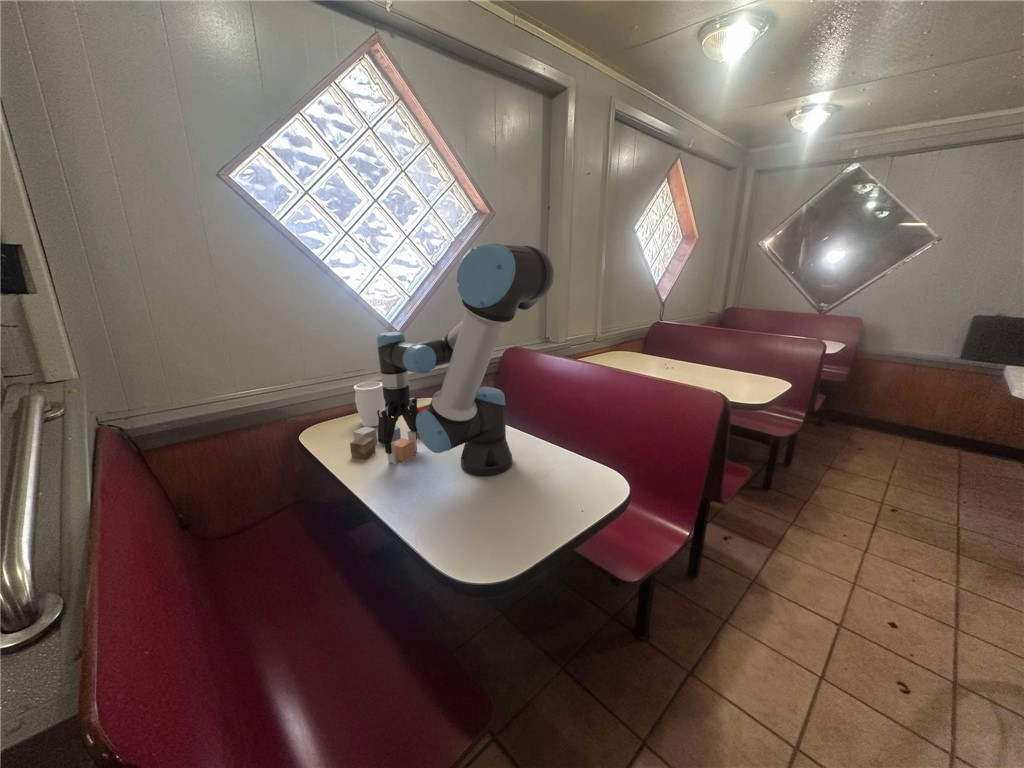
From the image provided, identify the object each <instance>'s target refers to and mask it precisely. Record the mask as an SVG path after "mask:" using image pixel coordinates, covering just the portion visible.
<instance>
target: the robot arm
mask: <svg viewBox="0 0 1024 768" xmlns="http://www.w3.org/2000/svg"><path fill="white" fill-rule="evenodd" d="M554 279H555V270H554V266H553V264H552V261H551V259H550V258H549V256H548V255H547V253H546V252H545V251H543V250H541V249H540V248H538V247H536V246H531V245H514V244H513V245H511V244H501V243H488V244H480V245H476V246H475V247H473V248H471V249H469V250H468V251H467V252H466V253H465V254H464V255H463V257H462V259H461V260H460V262H459V264H458V267H457V272H456V283H458V286H457V291H458V293H459V296H460V298H461V301H460V302H461V304H462V306H463V308H464V310H465V312H464V316H463V319H462V320H461V321H460V322H459V323H458V324H457V325H456V326H455V327H454V328H453V329H451V330H450V332H448V333H447V334H446V335H445V336H444V337H440V338H435V339H429V340H423V341H419V342H418V341H417V342H406V338H405V334H404V333H403V332H399V331H388V332H382V333H380V334H378V335H377V337H376V338H377V339H376V341H377V347H376V349H377V353H378V360H379V361H378V362H379V369H380V376H381V377H380V378H381V383H382V385H383V387H382V389H383V397H384V400H385V408H384V409H382V410H378V411H377V414H378V417H379V420H378V426H377V443H379V444H381V445H384V452H385V454H387V462H388V463H391V464H397V460H396V454H395V445H394V442H392V439H393V434H394V430H395V426H397V425H396V424H397V421H398V420H399V418H400V417H402V418H403V420H404V422H405V423H406V426H407V427H408V429H409V430H407V439H408V440H411V441H414V450H415V453H416V452H418V444H417V443H418V436H419V438H420V440H421V441H422V443H423V445H424V446H425V447H426V449H428V450H429V451H430V452H433V453H435V454H442V453H443V452H449V451H451V450H452V449H455V448H456V447H459V446H461V445H463V444H464V446H463V449H462V452H461V455H460V465H461V466H460V467H461V469H462V470H463V471H464V472H466V473H468V474H470V475H473V476H474V475H475V476H481V477H486V476H488V477H489V476H495V475H500V474H502V473H504V472H506V471H508V470H510V468H512V465H513V454H512V452H511V449H510V446H509V443H508V441H507V434H506V433H507V432H506V431H507V430H506V424H507V423H506V421H507V420H506V416H507V415H506V405H507V403H506V399H505V393H504V392H503V390H501V389H498V388H496V387H489V386H481V385H482V383H483V379H484V377H485V374H486V372H487V369H488V366H489V364H490V361H491V359H492V356H493V354H494V351H495V348H496V345H497V343H498V340H499V338H500V335H501V333H502V330H503V327H504V325H505V324H508V323H511V322H512V321H513V320H514V318H515V316H516V314H517V313H518V312H520V311H527V310H529V309H531V308H532V307H533V306H535V305H536V304H537V303H538V302H540V301H541V300H542V299H544V297H545V296H546V295H547V294H548V293H549V292H550V290H551V288H552V286H553V283H554ZM446 364H448V367H447V370H446V373H445V376H444V379H443V383H442V385H441V388H440V390H438V391H436V392H435V393H434V394H433V396H432V397H431V401H430V403H429V404H430V407H429V408H428V409H424V410H422V411H420V412H418V399H417V398H415V397H411V393H410V386H409V371H410V372H411V373H415V374H427V373H430V371H431V370H433V369H434V368H435V367H439V366H443V365H446Z"/></svg>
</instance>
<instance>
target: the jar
mask: <svg viewBox="0 0 1024 768" xmlns="http://www.w3.org/2000/svg"><path fill="white" fill-rule="evenodd" d="M383 387H384V386H383V385H382V381H364V382H359V383H358V384H357V383H356V384H355V385H354V386H353V390H354V391H355V393H354V395H355V397H354V398H355V399H354V400H355V401H354V402H355V406H356V410H357V412H358V415H359V417H360V420H361V423H360V424H361V426H363V427H365V426H366V427H370V428H373V427H378V420H379V417H378V414H377V411H378V410H382V409H384V408H385V405H386V402H385V400H384V397H383Z"/></svg>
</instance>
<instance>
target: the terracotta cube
mask: <svg viewBox="0 0 1024 768" xmlns="http://www.w3.org/2000/svg"><path fill="white" fill-rule="evenodd" d="M394 445H395V454H396V462H397V461H398V462H401V463H405V462H407V461H408V460H410V459H412V458H413V457H415V456H416V452H415V450H414V441H411V440H408V438H404V437H401V439H399V440H397V441H395V442H394Z"/></svg>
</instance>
